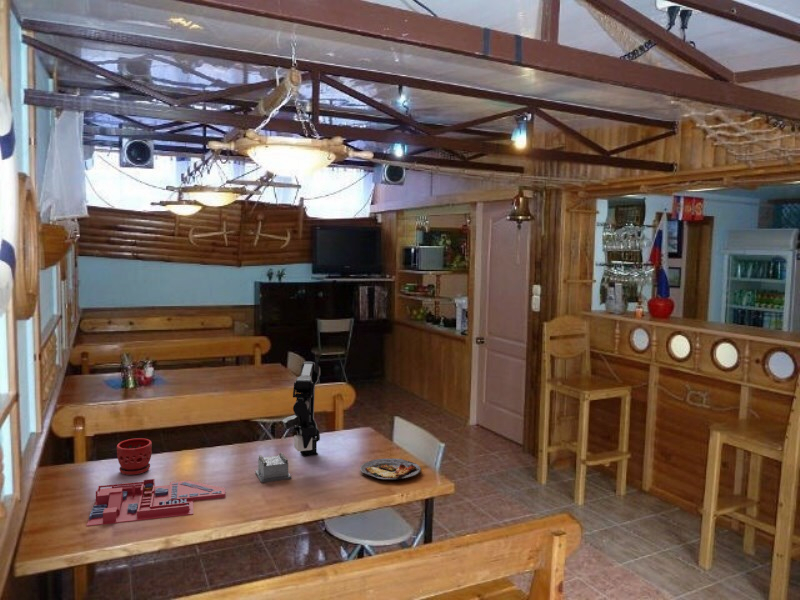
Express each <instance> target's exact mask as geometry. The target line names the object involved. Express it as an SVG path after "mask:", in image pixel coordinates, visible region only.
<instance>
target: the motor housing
mask: <svg viewBox="0 0 800 600" xmlns="http://www.w3.org/2000/svg"><path fill="white" fill-rule="evenodd" d="M257 460H258V461H257V467H258V468H257V469H255V470H254V472H255V474H256V476H257V478H258V480H259V481H260V483H261V484H262V483H263V484H264V483H270V482H278V481H279V482H280V481H285V480H292V475H291V474H290V472H289V460H288V459H287V457H286V455H284V453H283V452H279V453H278V455H275V456H274V455H273V456H270V455H268V456H265V457H263V455H262V454H259V455H258V459H257Z"/></svg>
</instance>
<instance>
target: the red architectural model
mask: <svg viewBox="0 0 800 600" xmlns="http://www.w3.org/2000/svg"><path fill="white" fill-rule="evenodd" d="M222 498H226V489H225V487H223V486H221V487H220V486H216V485H210V484H206V483H200V482H196V481H192V480H181V481H180V480H179V481H178V480H177V481H170V482H169V484H167V485H156V482H155V478H151V479H143V481H137V482H128V483H127V482H126V483H118V484H117V483H115V484H105V485H98V486H97V490H96V491H95V503H94V504H93V507H91V508H92V509H91V511H90V514H89V516H88V517H89V518H88V521H87V524H86V527H92V526H93V527H94V526H101V525H110V524H111V525H113V524H120V523H130V522H131V523H132V522H139V521H148V520H155V519H165V518H166V519H167V518H175V517H184V516H190V515H191V516H192V515H194V501H203V500H205V501H206V500H213V499H222Z"/></svg>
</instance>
